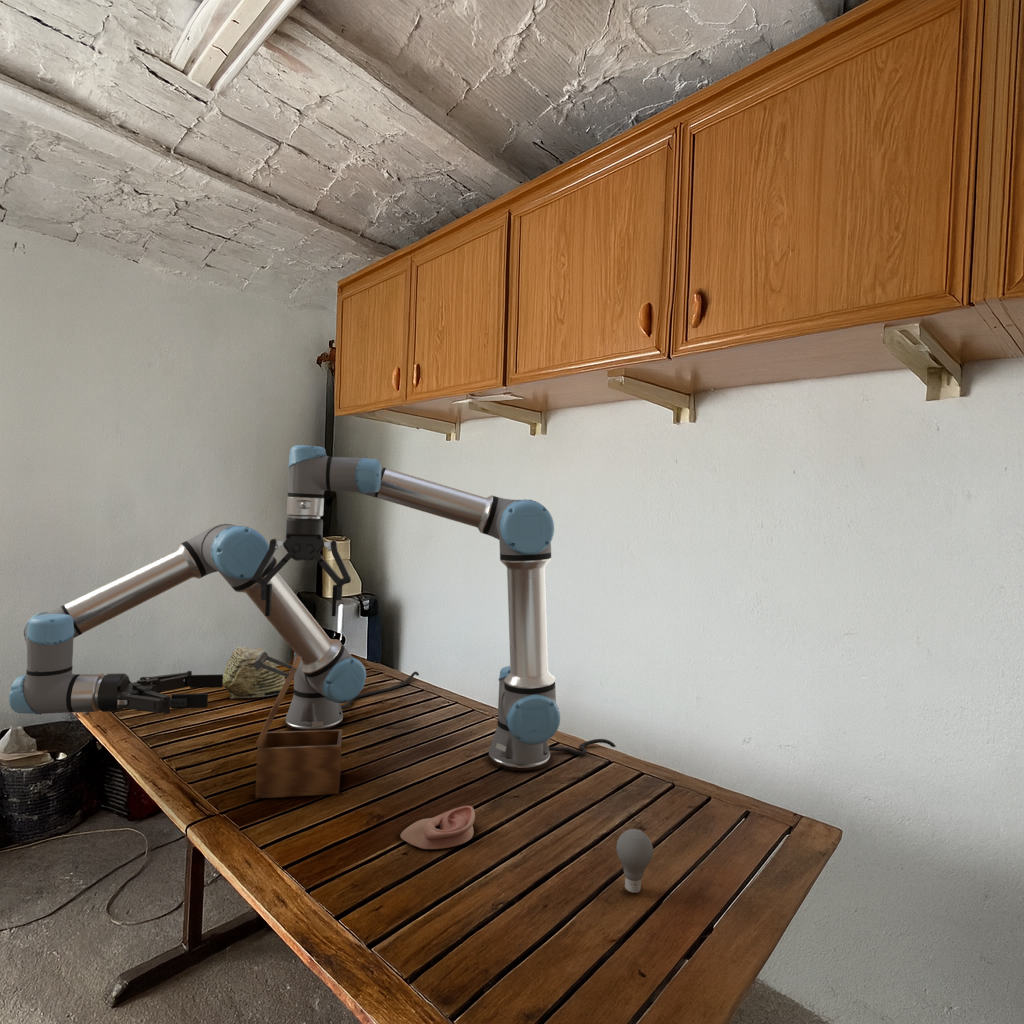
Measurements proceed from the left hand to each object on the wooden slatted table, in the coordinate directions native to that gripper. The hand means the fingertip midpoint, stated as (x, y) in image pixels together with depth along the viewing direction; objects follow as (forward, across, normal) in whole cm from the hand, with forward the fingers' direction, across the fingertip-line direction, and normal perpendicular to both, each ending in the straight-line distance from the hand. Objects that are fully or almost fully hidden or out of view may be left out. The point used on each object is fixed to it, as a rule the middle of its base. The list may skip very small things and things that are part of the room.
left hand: (215, 690), depth 134 cm
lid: (+13, 0, -3) cm, 14 cm away
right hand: (+17, 0, +16) cm, 23 cm away
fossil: (-2, -66, -22) cm, 69 cm away
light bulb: (+76, +47, -22) cm, 91 cm away
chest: (+18, 0, -22) cm, 28 cm away
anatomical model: (+45, +24, -22) cm, 56 cm away
